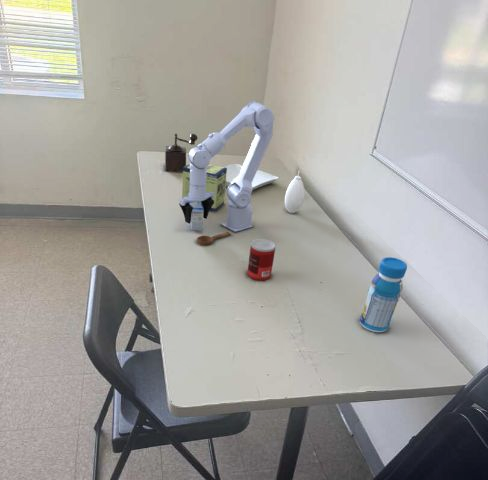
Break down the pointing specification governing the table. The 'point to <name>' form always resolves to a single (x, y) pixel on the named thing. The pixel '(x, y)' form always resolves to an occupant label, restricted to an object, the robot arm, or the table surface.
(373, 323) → the beverage bottle
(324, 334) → the table surface
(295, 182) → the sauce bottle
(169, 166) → the manual coffee grinder
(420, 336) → the table surface
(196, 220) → the medicine box
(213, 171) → the protein box
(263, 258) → the canned food
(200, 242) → the wooden spoon
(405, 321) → the table surface
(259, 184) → the square plate
